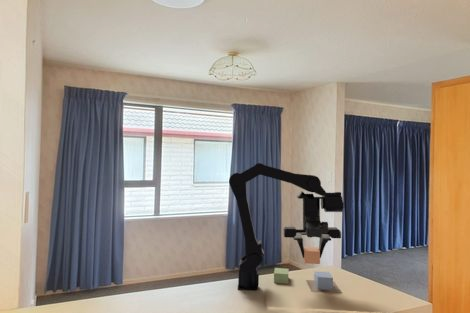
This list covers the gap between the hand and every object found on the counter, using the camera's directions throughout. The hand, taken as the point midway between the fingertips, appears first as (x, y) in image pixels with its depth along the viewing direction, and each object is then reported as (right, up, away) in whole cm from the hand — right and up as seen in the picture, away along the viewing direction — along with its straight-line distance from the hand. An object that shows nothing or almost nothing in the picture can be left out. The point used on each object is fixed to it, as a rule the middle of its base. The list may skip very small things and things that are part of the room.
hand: (311, 257), depth 118 cm
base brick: (+4, -10, +1) cm, 11 cm away
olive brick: (-9, -11, +7) cm, 16 cm away
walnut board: (+4, -11, +1) cm, 12 cm away
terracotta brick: (0, -1, 0) cm, 1 cm away
